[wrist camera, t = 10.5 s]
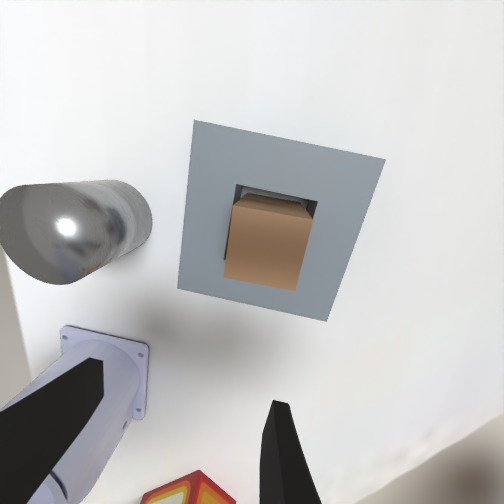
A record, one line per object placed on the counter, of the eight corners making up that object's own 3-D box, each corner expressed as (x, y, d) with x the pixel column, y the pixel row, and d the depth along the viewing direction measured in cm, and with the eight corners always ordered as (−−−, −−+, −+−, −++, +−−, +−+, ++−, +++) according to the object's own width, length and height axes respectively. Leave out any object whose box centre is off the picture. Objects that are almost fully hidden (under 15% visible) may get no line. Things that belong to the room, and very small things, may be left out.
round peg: (150, 255, 18) (95, 293, 13) (86, 241, 18) (3, 273, 13) (154, 188, 17) (91, 197, 11) (83, 173, 17) (-15, 174, 11)
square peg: (288, 251, 17) (295, 291, 12) (240, 242, 17) (223, 277, 12) (299, 202, 16) (313, 219, 10) (247, 193, 16) (233, 205, 10)
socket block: (318, 298, 18) (326, 321, 15) (192, 270, 18) (177, 288, 16) (364, 161, 15) (385, 159, 12) (209, 129, 15) (193, 119, 12)
